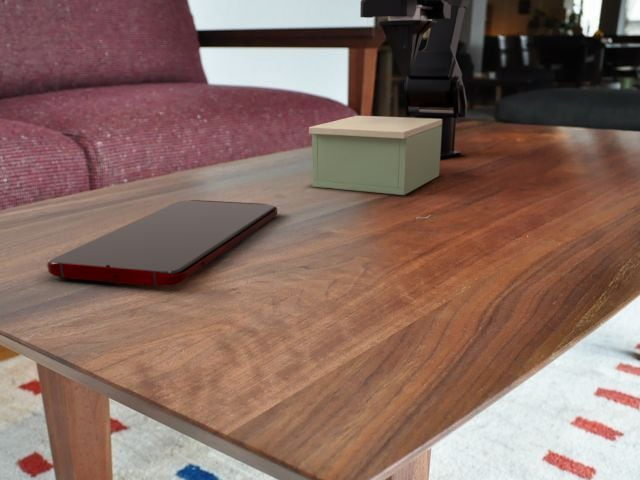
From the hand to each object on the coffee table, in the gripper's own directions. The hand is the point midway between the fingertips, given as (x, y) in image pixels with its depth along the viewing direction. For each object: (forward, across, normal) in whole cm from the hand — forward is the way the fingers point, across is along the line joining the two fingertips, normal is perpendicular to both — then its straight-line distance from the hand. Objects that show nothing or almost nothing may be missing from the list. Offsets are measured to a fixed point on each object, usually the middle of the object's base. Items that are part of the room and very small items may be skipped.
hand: (406, 75), depth 92 cm
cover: (+6, -10, 0) cm, 11 cm away
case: (+13, -9, 0) cm, 16 cm away
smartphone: (+13, -44, +6) cm, 46 cm away
